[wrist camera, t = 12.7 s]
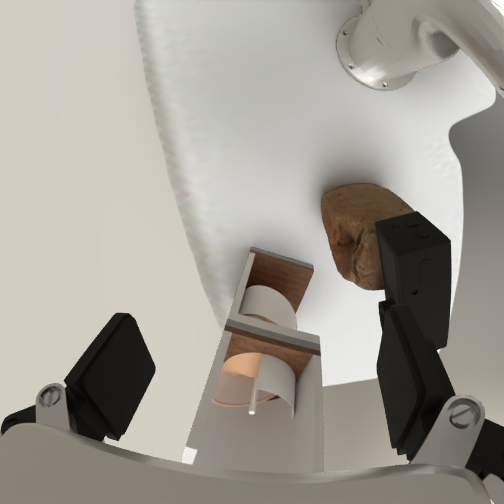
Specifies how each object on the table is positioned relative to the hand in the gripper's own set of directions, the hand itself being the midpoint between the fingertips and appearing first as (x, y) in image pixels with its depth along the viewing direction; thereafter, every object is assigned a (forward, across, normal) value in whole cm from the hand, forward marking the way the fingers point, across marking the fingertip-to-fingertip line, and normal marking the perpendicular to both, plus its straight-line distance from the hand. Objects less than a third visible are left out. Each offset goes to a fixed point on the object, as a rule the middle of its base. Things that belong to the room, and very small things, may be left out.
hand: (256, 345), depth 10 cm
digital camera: (+17, -11, +6) cm, 21 cm away
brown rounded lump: (+37, -10, +6) cm, 38 cm away
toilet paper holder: (+36, +4, +19) cm, 41 cm away
